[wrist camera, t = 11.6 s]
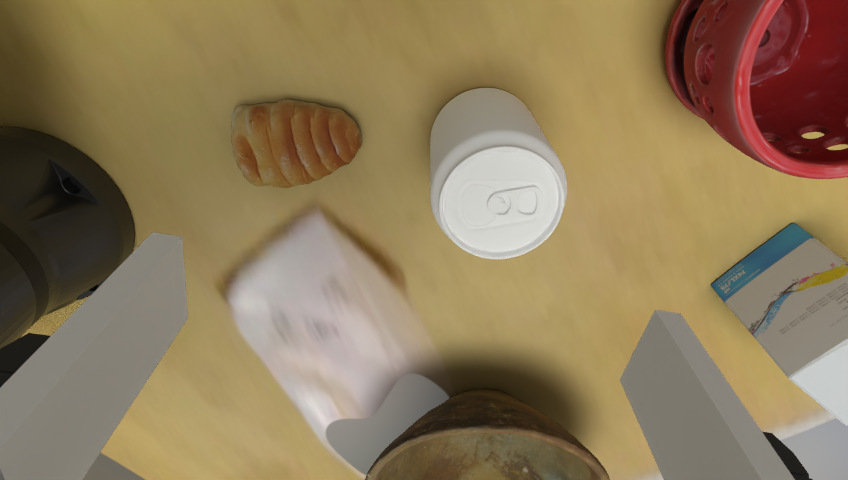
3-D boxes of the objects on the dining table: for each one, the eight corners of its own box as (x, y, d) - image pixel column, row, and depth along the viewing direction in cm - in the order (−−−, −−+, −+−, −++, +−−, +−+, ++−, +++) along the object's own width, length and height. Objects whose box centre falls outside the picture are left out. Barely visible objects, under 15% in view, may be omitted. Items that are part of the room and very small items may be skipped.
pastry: (352, 84, 38) (345, 98, 34) (370, 168, 41) (365, 188, 38) (231, 103, 38) (212, 118, 35) (259, 184, 42) (244, 204, 39)
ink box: (707, 284, 46) (786, 378, 36) (793, 219, 43) (906, 303, 33) (761, 331, 49) (849, 431, 38) (846, 273, 45) (966, 366, 35)
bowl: (482, 509, 63) (491, 598, 54) (334, 423, 56) (316, 511, 47) (626, 418, 55) (663, 507, 46) (474, 304, 47) (484, 383, 39)
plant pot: (857, 66, 36) (1027, 112, 26) (674, 149, 40) (761, 220, 29) (832, -130, 31) (1038, -171, 20) (622, -14, 34) (707, 2, 24)
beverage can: (425, 90, 38) (424, 144, 27) (535, 80, 37) (577, 131, 27) (434, 190, 42) (436, 270, 31) (534, 182, 41) (569, 261, 31)
